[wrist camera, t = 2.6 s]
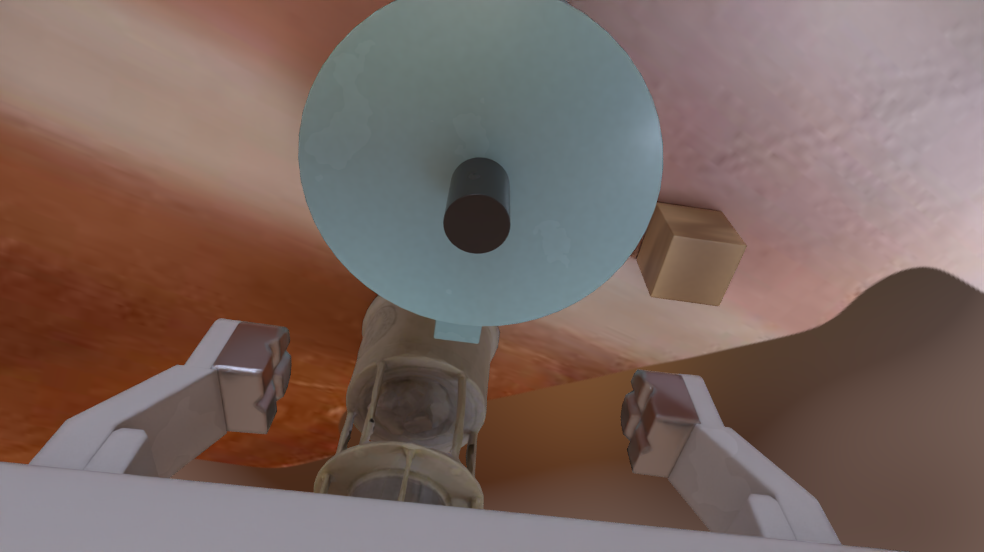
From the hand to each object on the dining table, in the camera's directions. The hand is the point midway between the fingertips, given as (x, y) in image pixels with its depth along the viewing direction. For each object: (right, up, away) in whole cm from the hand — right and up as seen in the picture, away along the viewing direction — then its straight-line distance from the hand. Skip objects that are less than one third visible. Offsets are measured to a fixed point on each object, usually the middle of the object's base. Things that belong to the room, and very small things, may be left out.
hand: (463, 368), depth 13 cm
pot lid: (0, +6, +10) cm, 12 cm away
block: (+13, +5, +24) cm, 28 cm away
